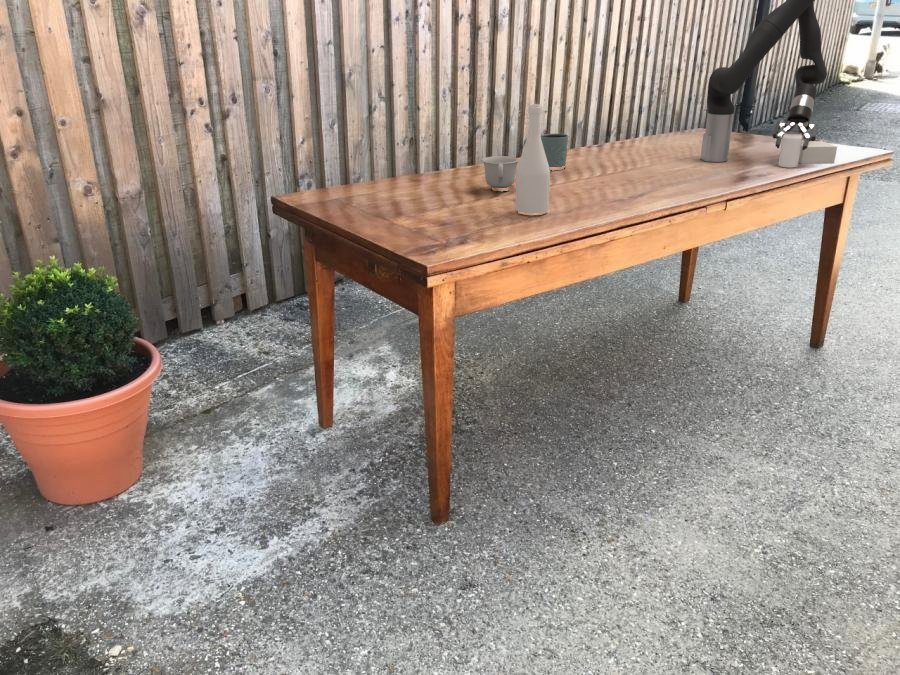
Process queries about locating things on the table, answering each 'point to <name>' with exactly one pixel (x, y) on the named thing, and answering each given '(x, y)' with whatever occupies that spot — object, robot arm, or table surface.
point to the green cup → (555, 149)
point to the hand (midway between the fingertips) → (790, 147)
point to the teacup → (500, 170)
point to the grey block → (817, 153)
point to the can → (790, 149)
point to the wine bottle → (533, 169)
